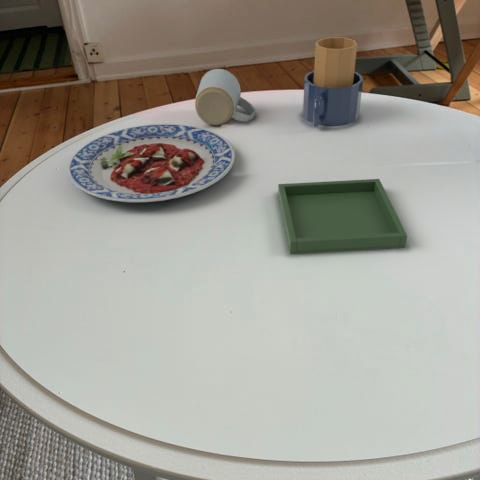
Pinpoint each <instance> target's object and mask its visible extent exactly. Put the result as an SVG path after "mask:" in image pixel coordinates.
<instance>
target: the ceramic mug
mask: <svg viewBox="0 0 480 480" xmlns="http://www.w3.org/2000/svg"><path fill="white" fill-rule="evenodd" d="M241 93H242V90H241V84H240V83H239V80H238V79H237V77H236V76H235V75H234V74H233V73H231V72H230V71H229V70H226V69H224V68H214V69H211V70H209V71H207V72H205V73H204V75H203V76H202V77H201V80H200V82H199V86H198V89H197V93H196V95H195V100H194V107H195V108H194V109H195V112H196V114H197V116H198V117H199V118H200V119H201V121H202V122H204V123H205V124H208V125H209V126H215V127H216V126H221V125H224V124H226V123H228V122H229V121H230V120H231V119H233V120H235V121H238V122H242V123H247V122H250V121H252V120H253V119H254V118H255V116H256V114H257V111H256V108H255V107H254V106H253V104H251V102H249V101H248V100H247V99H245V98H243V97H242V96H241ZM238 106H239V107H240V108H242V109H243V110H244V111H246V112H247V113H249V114H245V113H243V112H240V111H237V107H238Z"/></svg>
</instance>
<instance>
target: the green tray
mask: <svg viewBox="0 0 480 480" xmlns="http://www.w3.org/2000/svg"><path fill="white" fill-rule="evenodd" d="M277 185H278V186H277V197H278V202H279V207H280V211H281V217H282V222H283V227H284V231H285V235H286V242H287V247H288V253H289V255H301V254H302V255H303V254H320V253H336V252H353V251H356V252H357V251H371V250H389V249H390V250H392V249H406V244H407V239H408V234H407V232H406V229H405V228H404V226H403V224H402V222H401V220H400V218H399V216H398V214H397V212H396V210H395V208H394V206H393V204H392V202H391V200H390V198H389V196H388V194H387V192H386V189H385V188H384V186H383V184H382V182H381V179H380V178H370V179H369V178H368V179H351V180H350V179H349V180H347V179H346V180H331V181H329V180H328V181H314V182H313V181H312V182H294V183H293V182H292V183H278V184H277Z"/></svg>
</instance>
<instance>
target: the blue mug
mask: <svg viewBox="0 0 480 480" xmlns="http://www.w3.org/2000/svg"><path fill="white" fill-rule="evenodd" d="M313 80H314V70H312V71H309V72H307V74H305V75H304V79H303V97H302V98H303V99H302V117H303V118H304V119H305V121H307V122H309V123H311V124H312V126H313V128H318V127H319V126H323V127H340V126H345V125H350V124H353V123H354V122H355V121H357V120H358V119H359V117H360V110H361V108H360V107H361V100H362V92H363V85H364V84H363V83H364V79H363V75H361V74H360V73H359V72H357V71H354V79H353V85H351V86H347V87H340V88H329V87H322V86H318V85H315V84H313Z"/></svg>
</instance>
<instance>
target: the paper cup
mask: <svg viewBox="0 0 480 480" xmlns="http://www.w3.org/2000/svg"><path fill="white" fill-rule="evenodd" d="M314 49H315V50H314V63H313V64H314V65H313V71H314V80H313V84H315V85H318V86H322V87H329V88H340V87H347V86H351V85H353V79H354V72H355V71H356V70H355V69H356V61H357V60H356V59H357V51H358V50H357V49H358V43H357V42H356V40H355V39H351V38H348V37H343V36H342V37H340V36H330V37H325V38H320V39H319V40H317V41H316V42H315V48H314Z"/></svg>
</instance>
